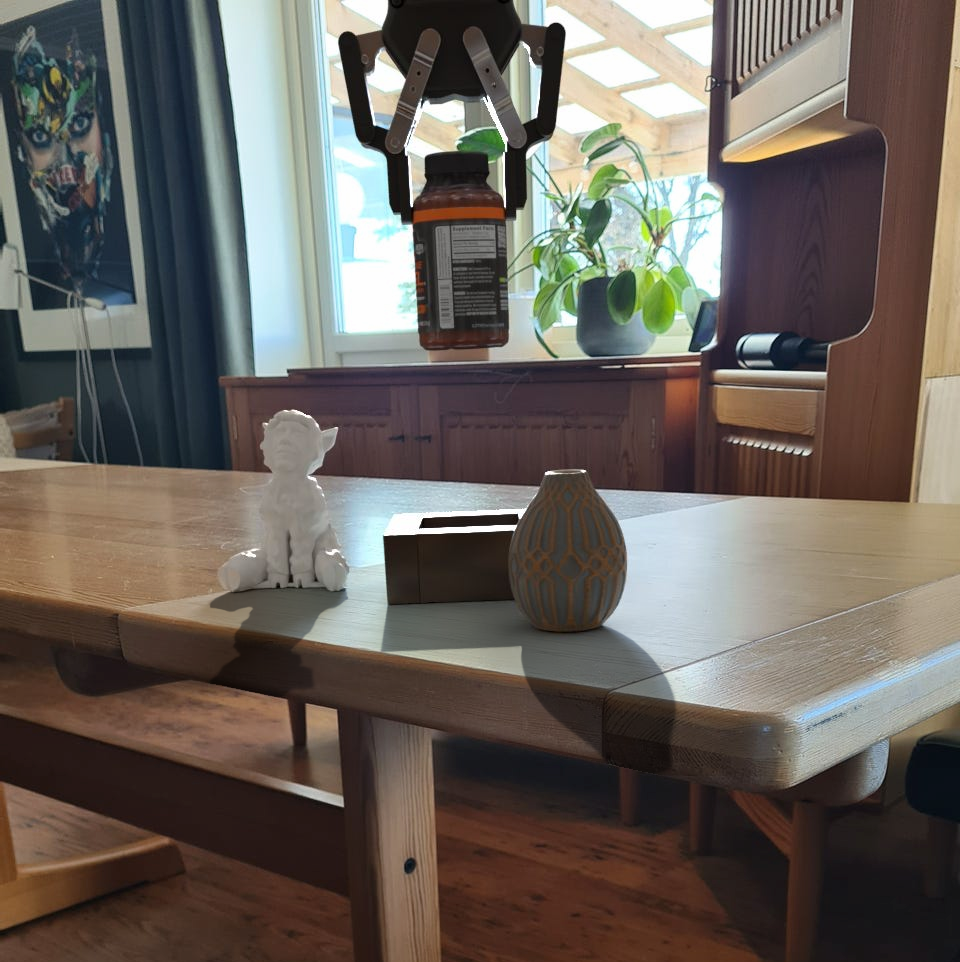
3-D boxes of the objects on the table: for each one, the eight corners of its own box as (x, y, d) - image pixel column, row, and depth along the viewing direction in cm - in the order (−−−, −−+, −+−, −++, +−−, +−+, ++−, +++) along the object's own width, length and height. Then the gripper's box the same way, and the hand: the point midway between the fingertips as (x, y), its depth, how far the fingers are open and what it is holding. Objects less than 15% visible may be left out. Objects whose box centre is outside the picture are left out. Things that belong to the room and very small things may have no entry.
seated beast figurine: (215, 593, 91) (195, 416, 87) (254, 573, 99) (237, 409, 95) (344, 591, 90) (330, 411, 85) (373, 571, 98) (361, 405, 93)
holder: (548, 570, 95) (547, 508, 93) (556, 597, 84) (555, 528, 83) (397, 576, 95) (393, 514, 93) (387, 604, 85) (382, 535, 83)
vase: (550, 610, 80) (547, 465, 77) (648, 619, 77) (649, 466, 73) (487, 631, 75) (481, 476, 72) (588, 641, 71) (586, 478, 68)
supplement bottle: (416, 351, 86) (405, 162, 82) (503, 348, 87) (497, 159, 83) (422, 351, 81) (411, 148, 77) (515, 347, 81) (510, 145, 77)
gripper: (316, -113, 71) (340, 221, 78) (574, -125, 71) (577, 211, 77) (330, -72, 78) (351, 232, 85) (565, -83, 78) (569, 222, 84)
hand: (459, 220), depth 81 cm, fingers closed on supplement bottle, 6 cm apart
